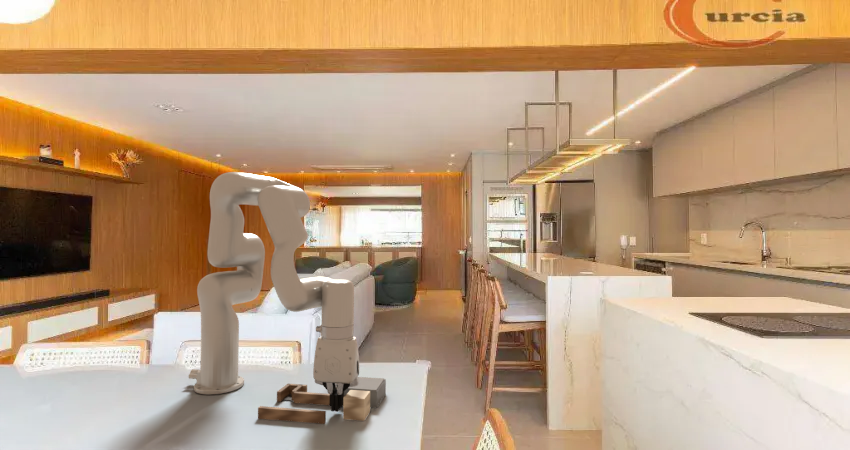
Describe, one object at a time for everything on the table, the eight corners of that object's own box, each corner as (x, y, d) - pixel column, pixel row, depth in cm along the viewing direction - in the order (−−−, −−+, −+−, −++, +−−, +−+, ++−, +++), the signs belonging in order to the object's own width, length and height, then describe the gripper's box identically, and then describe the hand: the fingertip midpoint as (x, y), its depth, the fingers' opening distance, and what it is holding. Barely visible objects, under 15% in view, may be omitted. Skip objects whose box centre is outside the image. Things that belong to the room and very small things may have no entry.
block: (343, 419, 101) (343, 397, 101) (350, 410, 106) (350, 389, 106) (364, 420, 100) (364, 399, 100) (370, 411, 105) (370, 391, 105)
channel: (255, 418, 101) (256, 407, 101) (287, 392, 117) (287, 383, 117) (328, 424, 98) (328, 413, 98) (350, 397, 114) (350, 387, 114)
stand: (341, 405, 109) (341, 388, 109) (353, 392, 118) (353, 376, 118) (376, 408, 107) (377, 390, 107) (385, 394, 116) (385, 378, 116)
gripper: (301, 334, 101) (300, 413, 101) (363, 337, 99) (362, 418, 99) (314, 327, 109) (313, 401, 109) (372, 329, 106) (371, 405, 106)
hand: (336, 409), depth 104 cm, fingers closed
